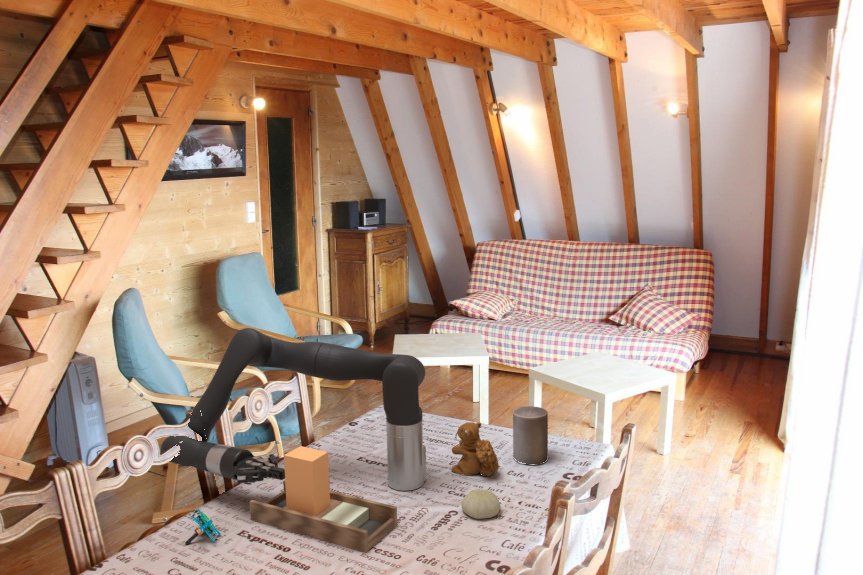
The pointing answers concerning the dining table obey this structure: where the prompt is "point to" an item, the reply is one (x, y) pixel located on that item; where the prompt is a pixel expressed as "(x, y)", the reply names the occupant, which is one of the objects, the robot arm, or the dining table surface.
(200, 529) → the stick construction toy
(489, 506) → the sea urchin shell
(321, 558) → the dining table surface
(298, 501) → the orange block
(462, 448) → the stuffed squirrel
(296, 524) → the open wooden box
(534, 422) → the pillar candle
